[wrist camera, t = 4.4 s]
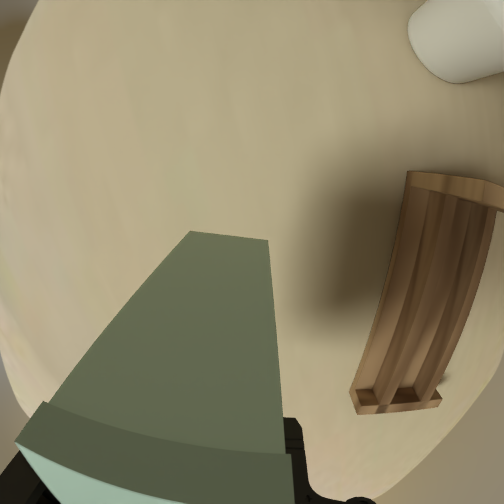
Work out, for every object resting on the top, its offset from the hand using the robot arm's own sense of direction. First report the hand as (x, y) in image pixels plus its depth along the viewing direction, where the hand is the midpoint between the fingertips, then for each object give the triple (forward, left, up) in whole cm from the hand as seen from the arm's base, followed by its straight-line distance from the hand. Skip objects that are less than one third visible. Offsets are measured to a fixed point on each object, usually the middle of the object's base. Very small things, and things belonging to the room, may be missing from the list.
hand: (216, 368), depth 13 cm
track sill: (0, +18, -12) cm, 22 cm away
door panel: (0, 0, 0) cm, 0 cm away
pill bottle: (-24, +16, -12) cm, 31 cm away
